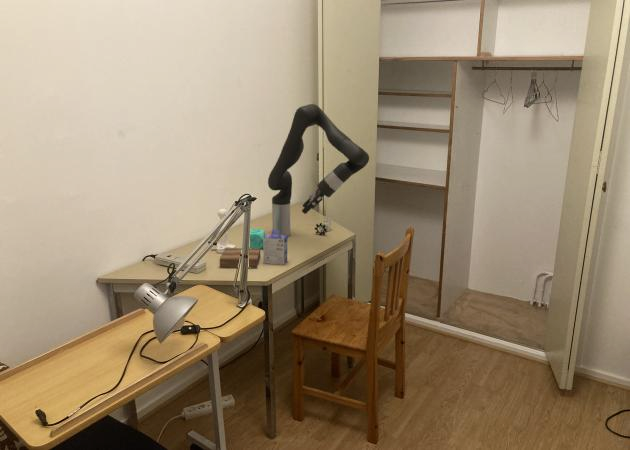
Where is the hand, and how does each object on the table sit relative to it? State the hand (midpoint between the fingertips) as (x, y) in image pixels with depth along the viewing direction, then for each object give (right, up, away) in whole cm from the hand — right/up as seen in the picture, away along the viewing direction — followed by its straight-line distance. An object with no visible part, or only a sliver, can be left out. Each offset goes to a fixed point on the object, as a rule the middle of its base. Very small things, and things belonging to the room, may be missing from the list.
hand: (303, 209), depth 230 cm
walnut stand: (-28, -23, +7) cm, 37 cm away
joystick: (-38, -19, +21) cm, 48 cm away
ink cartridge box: (-13, -23, +7) cm, 28 cm away
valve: (+10, -11, +50) cm, 52 cm away
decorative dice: (-23, -17, +26) cm, 39 cm away
